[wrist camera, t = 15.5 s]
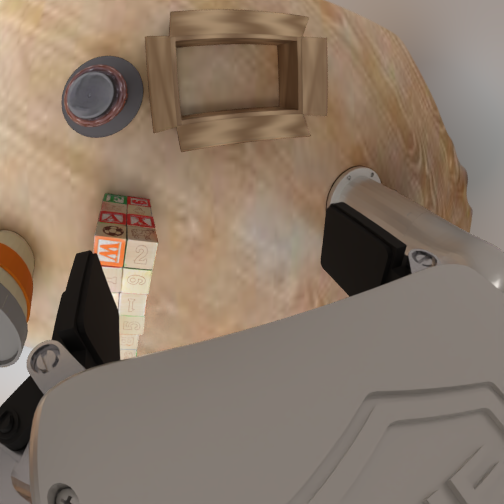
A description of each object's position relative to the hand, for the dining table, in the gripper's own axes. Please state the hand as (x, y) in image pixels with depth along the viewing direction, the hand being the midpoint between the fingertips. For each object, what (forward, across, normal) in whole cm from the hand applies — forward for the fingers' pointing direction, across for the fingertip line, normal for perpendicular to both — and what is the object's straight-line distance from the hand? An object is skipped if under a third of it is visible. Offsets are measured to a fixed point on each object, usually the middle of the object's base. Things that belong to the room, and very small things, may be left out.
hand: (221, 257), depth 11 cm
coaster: (+27, +7, -8) cm, 29 cm away
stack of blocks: (+27, +10, +16) cm, 33 cm away
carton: (+27, -8, -8) cm, 29 cm away
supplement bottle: (+26, +7, -8) cm, 28 cm away
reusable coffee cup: (+26, +26, +10) cm, 39 cm away
